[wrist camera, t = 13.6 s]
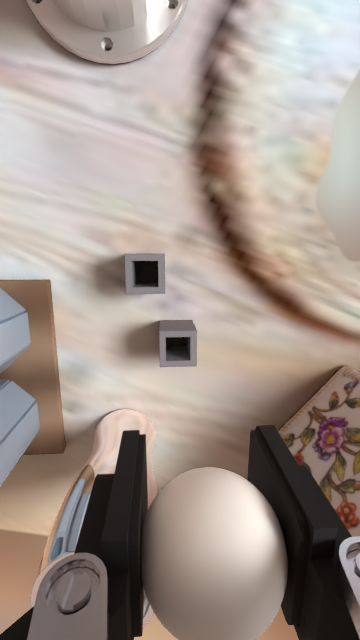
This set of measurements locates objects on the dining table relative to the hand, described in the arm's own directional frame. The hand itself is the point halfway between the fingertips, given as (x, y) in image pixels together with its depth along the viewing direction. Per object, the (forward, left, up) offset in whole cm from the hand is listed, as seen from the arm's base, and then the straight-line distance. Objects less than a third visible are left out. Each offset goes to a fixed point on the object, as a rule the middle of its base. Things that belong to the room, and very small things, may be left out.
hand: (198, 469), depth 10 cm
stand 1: (-5, -2, -19) cm, 20 cm away
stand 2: (+1, 0, -19) cm, 19 cm away
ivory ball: (0, 0, +1) cm, 1 cm away
